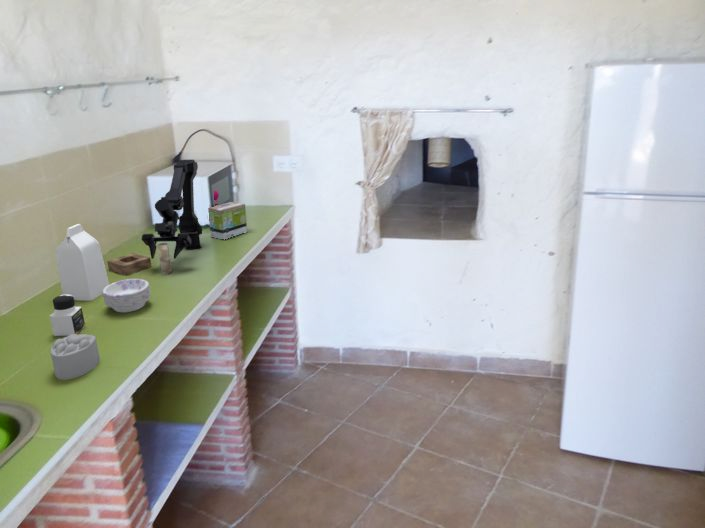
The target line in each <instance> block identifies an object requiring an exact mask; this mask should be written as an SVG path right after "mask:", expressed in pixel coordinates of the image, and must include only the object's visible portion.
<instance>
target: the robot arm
mask: <svg viewBox="0 0 705 528" xmlns="http://www.w3.org/2000/svg"><path fill="white" fill-rule="evenodd" d="M198 167H199V166H198V162H197V161H195V159H179V160H178V161H177V162H175V163H174V165H173V175H172V179H171V183H170V188H169V190H168V191H167V192H166V193H165V195H164V196H161V197H160V199H159V200H157V201H156V202H155V204H154V208H155V210H156V212H157V213H158V214H159V216H160V217H161V218H162V222H158V223H157V222H156V223H154V232H157V235H158V236H154V234H153V233H143V234H142V235H141V239H140V240H141V241H142V243H144V245H146V246H148V248H149V251H150V252H149V253H150V259H152V260H154V259H155V256H156V251H157V248H158V245H157V243H158V242H162V243H168V242H175V247H174V252H173V259H174V260H175V259H177V257H178V256H179V254H181V252H182V251H183V250H184V249H186V250H195V249H202V246H201V240H200V235H202V234H203V227H202V226H201V223H200V222H199V218H198V217H197V215H196V213H195V203H194V202H195V201H194V199H195V198H194V193H195V192H194V180H195V177H196V176H197V172H198ZM178 211H182V214H181V215H180V216H179V213H178ZM177 225H178V228H177ZM178 230H179V232H178ZM176 232H178V233H177V236H176Z"/></svg>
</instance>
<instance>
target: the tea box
mask: <svg viewBox="0 0 705 528" xmlns="http://www.w3.org/2000/svg"><path fill="white" fill-rule="evenodd" d="M246 210H247V209H246V204H245V203H241V202H235V201H229V202H225V203H222V204H218V205H217V206H214V207H210V206H209V207H208V208H207V211H208V213H209V220H208V221H209V223H210V224H209V223H208V224H209V233H210V238H212V237H214V238H213V239H216V238H218V239H217V240H220V239H224V240H223V241H226V240H229V239H231V238H230V237H232V238H234V237H233V236H235V237H237V236H236V235H239V234H241V233H244V232H247V233H248V227H247V226H248V224H247V214H246V213H247V211H246ZM239 236H240V235H239ZM228 238H229V239H228ZM225 239H226V240H225Z"/></svg>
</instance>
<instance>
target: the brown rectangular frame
mask: <svg viewBox="0 0 705 528" xmlns="http://www.w3.org/2000/svg"><path fill="white" fill-rule="evenodd" d="M107 267H108V271H111V272H113V273H116V274H119V275H123V276H129V275H132V274H135V273H138V272H140V271H143V270H146V269H150V268H152V261H151V257H148V256H145V255H142V254H138V253H134V252H132V253H129V254H125V255H122V256H119V257H116V258H113V259H109V260H107ZM149 267H150V268H149Z"/></svg>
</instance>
